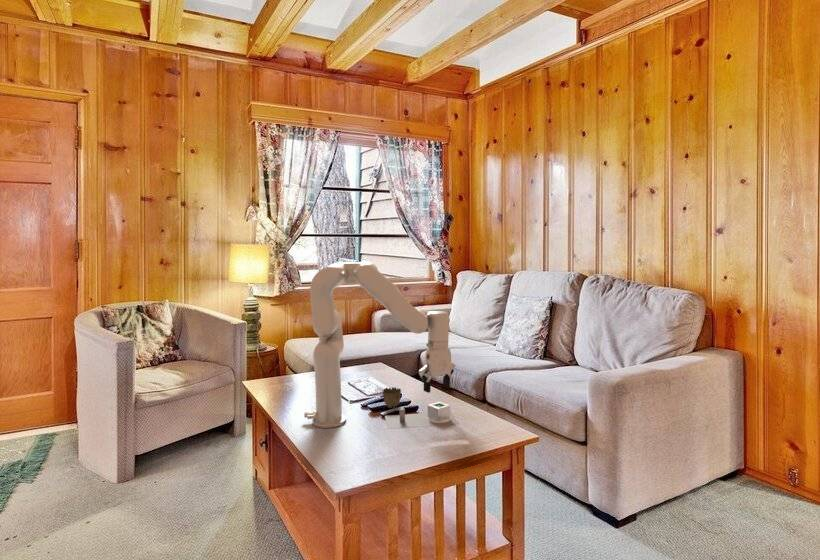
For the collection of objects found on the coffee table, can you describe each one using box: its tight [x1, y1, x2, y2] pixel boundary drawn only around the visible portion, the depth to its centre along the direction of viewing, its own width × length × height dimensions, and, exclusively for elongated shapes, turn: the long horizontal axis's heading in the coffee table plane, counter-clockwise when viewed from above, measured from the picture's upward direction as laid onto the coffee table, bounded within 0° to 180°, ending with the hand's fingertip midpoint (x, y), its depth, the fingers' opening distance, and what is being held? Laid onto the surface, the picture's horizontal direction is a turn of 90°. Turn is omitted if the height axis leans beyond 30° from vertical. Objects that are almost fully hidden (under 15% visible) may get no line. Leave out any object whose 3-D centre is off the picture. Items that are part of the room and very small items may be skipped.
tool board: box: [384, 405, 460, 430], centre depth 190 cm, size 26×13×6 cm, turn 98°
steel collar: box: [427, 401, 451, 422], centre depth 191 cm, size 6×6×5 cm
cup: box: [382, 387, 402, 409], centre depth 206 cm, size 8×7×8 cm
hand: (436, 389), depth 191 cm, fingers open, 9 cm apart
